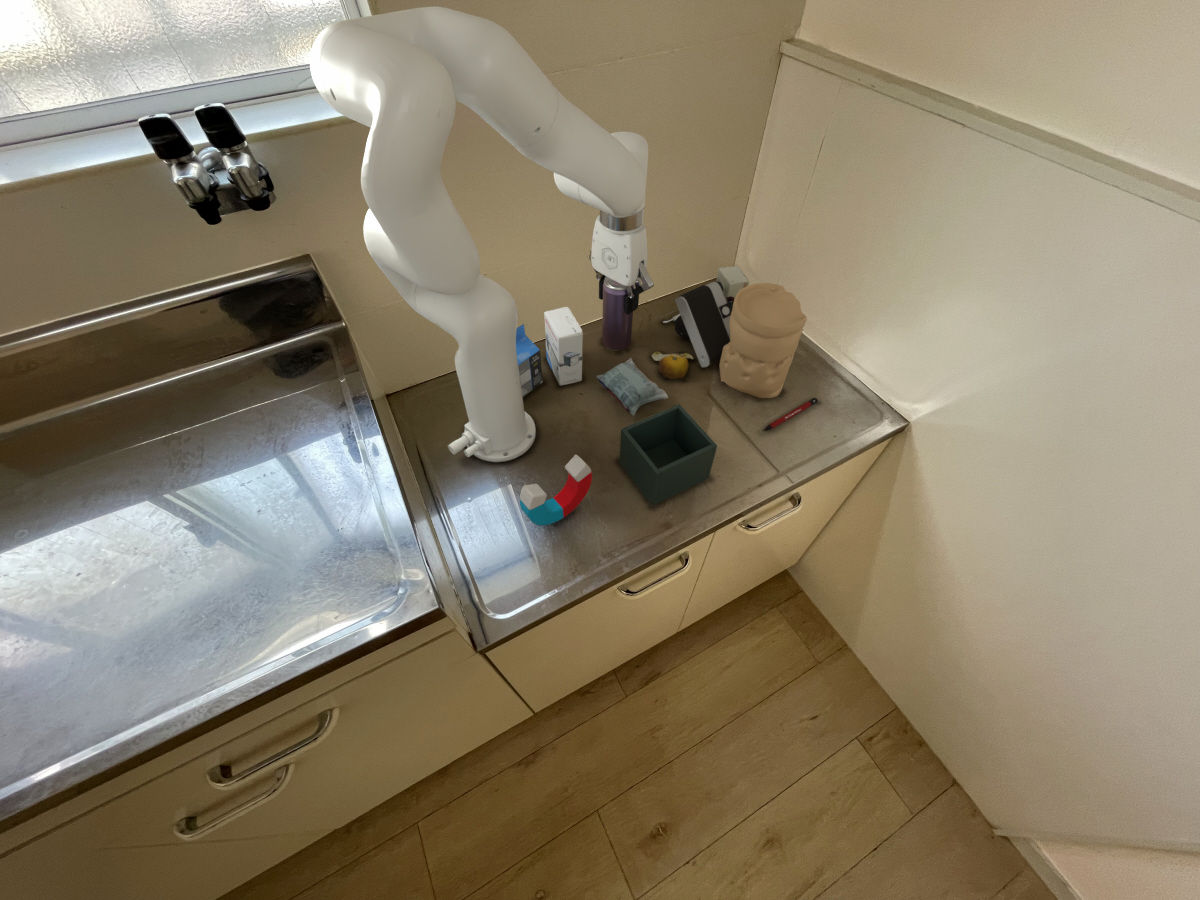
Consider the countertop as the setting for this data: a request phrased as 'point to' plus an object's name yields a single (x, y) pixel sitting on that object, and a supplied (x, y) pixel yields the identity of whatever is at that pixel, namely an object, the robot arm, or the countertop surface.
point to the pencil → (791, 414)
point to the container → (761, 339)
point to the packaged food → (630, 386)
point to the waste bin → (666, 453)
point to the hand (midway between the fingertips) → (618, 302)
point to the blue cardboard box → (528, 362)
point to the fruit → (672, 364)
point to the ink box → (564, 345)
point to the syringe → (672, 319)
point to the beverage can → (615, 316)
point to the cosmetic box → (732, 280)
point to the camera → (705, 321)
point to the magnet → (563, 501)
